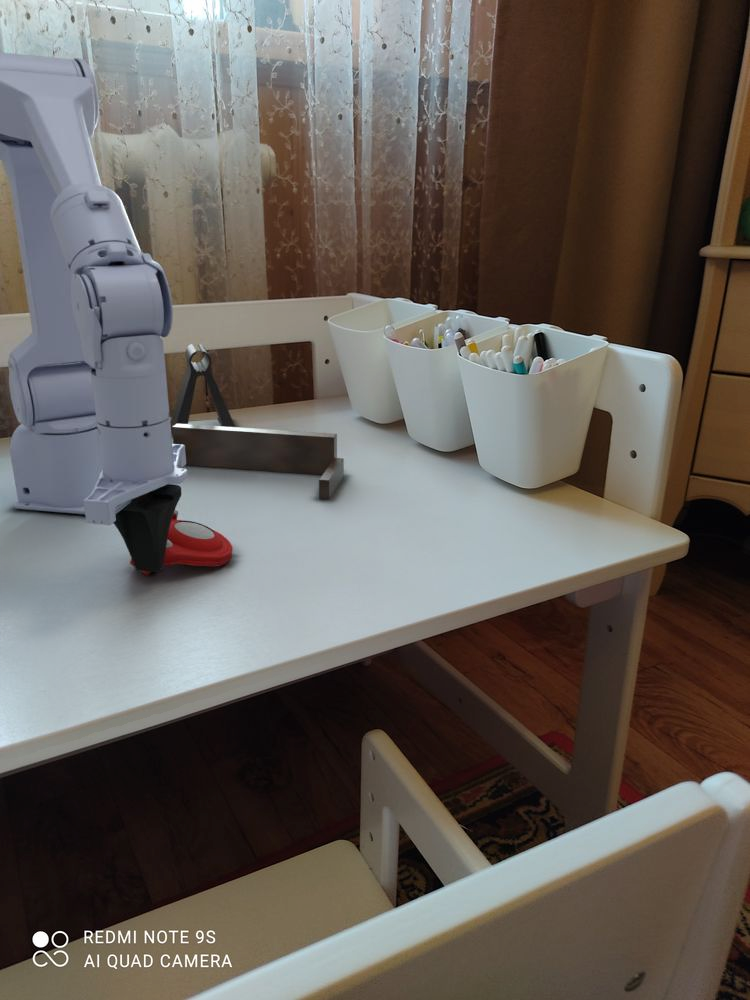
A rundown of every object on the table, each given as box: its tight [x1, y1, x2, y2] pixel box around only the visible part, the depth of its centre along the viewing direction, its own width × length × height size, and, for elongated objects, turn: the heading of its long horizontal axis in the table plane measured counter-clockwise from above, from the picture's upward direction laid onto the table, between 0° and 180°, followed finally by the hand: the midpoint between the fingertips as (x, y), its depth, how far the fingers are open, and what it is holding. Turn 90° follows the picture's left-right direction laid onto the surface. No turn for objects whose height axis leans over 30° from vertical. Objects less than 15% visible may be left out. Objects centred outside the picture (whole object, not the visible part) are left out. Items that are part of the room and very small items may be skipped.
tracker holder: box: [129, 509, 233, 576], centre depth 74 cm, size 12×4×10 cm
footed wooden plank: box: [171, 424, 345, 501], centre depth 94 cm, size 23×10×5 cm, turn 80°
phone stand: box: [170, 343, 236, 428], centre depth 112 cm, size 9×6×12 cm, turn 108°
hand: (149, 568), depth 68 cm, fingers closed
